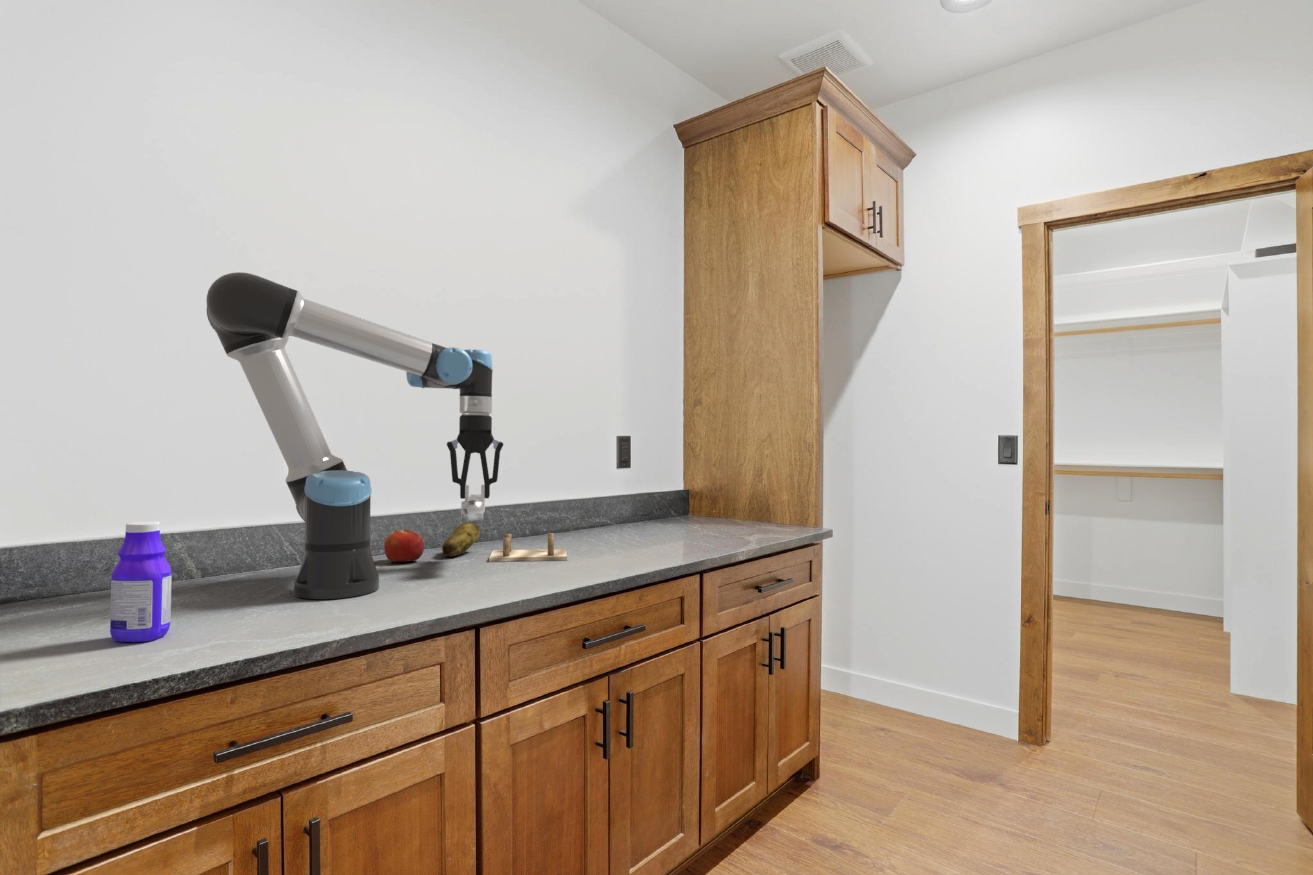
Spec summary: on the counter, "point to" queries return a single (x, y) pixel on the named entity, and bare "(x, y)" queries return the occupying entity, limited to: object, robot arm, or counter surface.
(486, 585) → the counter surface
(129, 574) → the bottle
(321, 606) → the counter surface
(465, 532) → the potato
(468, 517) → the clear glass container
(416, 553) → the tomato
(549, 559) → the rack
